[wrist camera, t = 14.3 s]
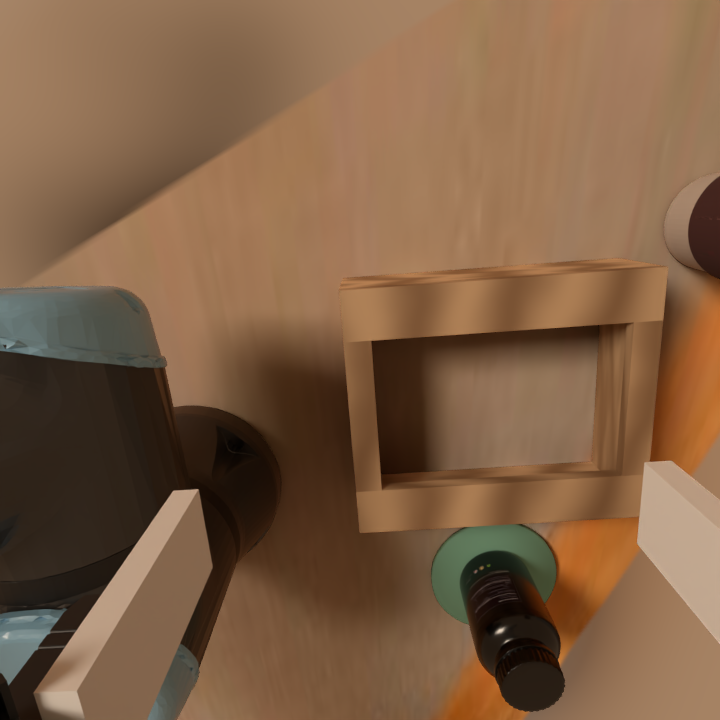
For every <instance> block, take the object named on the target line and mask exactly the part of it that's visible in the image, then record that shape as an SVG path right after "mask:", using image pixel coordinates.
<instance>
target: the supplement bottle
mask: <svg viewBox="0 0 720 720" xmlns="http://www.w3.org/2000/svg"><path fill="white" fill-rule="evenodd" d="M459 583H460V591H461V595H462V599H463V603H464V607H465V611H466V615H467V618H468V622H469V626H470V630H471V634H472V637H473V641H474V645H475V649H476V652H477V655H478V658H479V661H480V663H481V664H482V666H483V667H484V668H485V670H486V671H487V672H488V673H489V674H491V675H492V676H493V677H495V679H496V681H497V683H498V685H499V688H500V691H501V694H502V696H503V698H504V699H505V701H506V702H508V703H509V705H510V706H513V707H514V708H516V709H518V710H523V711H525V712H526V711H530V712H533V711H539V710H544V709H545V708H549V707H550V706H551V705H553V704H555V702H556V701H558V700H559V698H560V697H561V696H562V693H563V692H564V687H565V685H564V683H565V679H564V677H563V673H562V671H561V668H560V666H559V662H558V658H559V654H560V648H561V643H560V637H559V634H558V631H557V629H556V627H555V625H554V622H553V620H552V618H551V616H550V614H549V612H548V610H547V608H546V606H545V604H544V601H543V599H542V597H541V595H540V593H539V591H538V589H537V587H536V585H535V583H534V580H533V578H532V576H531V574H530V572H529V570H528V568H527V567H526V565H525V564H524V563H523V562H522V561H521V560H520V559H519V558H518V557H516V556H515V555H513V554H511V553H508V552H504V551H488V552H484V553H481V554H479V555H477V556H475V557H474V558H472V559H471V560H470V561H469V562H468V563H467V564H466V565H465V567H464V568H463V570H462V573H461V576H460V582H459Z"/></svg>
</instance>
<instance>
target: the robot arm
mask: <svg viewBox="0 0 720 720" xmlns="http://www.w3.org/2000/svg"><path fill="white" fill-rule="evenodd" d="M166 366H167V361H166V359H165V357H163V356H161V352H160V349H159V346H158V343H157V339H156V336H155V332H154V329H153V325H152V322H151V318H150V314H149V312H148V309H147V307H146V306H145V304H144V303H143V302H142V300H141V299H140V298H139V297H137V296H136V295H135V294H133V293H132V292H130V291H128V290H125V289H122V288H118V287H111V286H51V287H18V288H0V720H177V719H178V717H179V715H180V713H181V711H182V708H183V706H184V704H185V702H186V700H187V698H188V696H189V694H190V692H191V690H192V689H193V688H194V686H195V684H196V682H197V679H198V677H199V676H198V675H199V673H200V672H199V667H200V664H201V662H202V659H203V656H204V653H205V650H206V648H207V645H208V642H209V639H210V636H211V634H212V631H213V628H214V625H215V622H216V620H217V617H218V614H219V611H220V608H221V606H222V603H223V600H224V597H225V594H226V592H227V589H228V586H229V583H230V580H231V578H232V575H233V571H234V569H235V566H236V564H237V563H238V562H239V561H240V560H241V558H242V557H243V556H244V555H245V554H246V553H248V552H249V551H250V550H251V549H253V548H254V547H255V546H256V545H257V544H258V543H259V542H260V541H261V539H262V538H263V537H264V536H265V534H266V533H267V531H268V529H269V528H270V526H271V524H272V522H273V519H274V516H275V513H276V510H277V507H278V503H279V499H280V494H281V477H280V471H279V467H278V464H277V461H276V459H275V456H274V454H273V452H272V451H271V449H270V447H269V446H268V444H267V443H266V442H265V440H264V439H263V438H262V437H261V436H260V435H259V434H258V433H257V432H256V431H255V430H254V429H253V428H252V427H251V426H249V425H248V424H247V423H245V422H244V421H242V420H241V419H239V418H237V417H235V416H233V415H231V414H229V413H227V412H224V411H221V410H218V409H214V408H210V407H204V406H179V407H174V408H173V403H172V398H171V394H170V389H169V384H168V379H167V375H166V370H165V367H166ZM637 544H638V545H639V547H640V548H641V549H642V550H643V551H644V553H645V554H646V555H647V556H648V558H649V559H650V560H651V561H652V562H653V564H654V565H655V566H656V567H657V568H658V570H659V571H660V572H661V573H662V575H663V576H664V577H665V578H666V579H667V581H668V582H669V583H670V584H671V585H672V587H673V588H674V589H675V590H676V592H677V593H678V594H679V595H680V596H681V598H682V599H683V600H684V601H685V603H686V604H687V605H688V606H689V607H690V608H691V610H692V611H693V612H694V614H696V616H697V617H698V618H699V620H700V621H701V622H702V623H703V624H704V626H705V627H706V628H707V629H708V631H709V632H710V633H711V634H712V635H713V637H714V638H715V639H716V640H717V642H718V643H719V644H720V500H719V499H718V498H717V497H716V496H714V495H713V494H712V493H711V492H709V491H708V490H707V489H706V488H704V487H703V486H702V485H700V484H699V483H698V482H697V481H696V480H694V479H693V478H692V477H691V476H690V475H688V474H687V473H686V472H685V471H683V470H682V469H681V468H680V467H678V466H677V465H676V464H675V463H674V462H672V461H657V462H645V463H644V473H643V484H642V495H641V506H640V517H639V528H638V538H637Z"/></svg>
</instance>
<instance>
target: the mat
mask: <svg viewBox="0 0 720 720" xmlns="http://www.w3.org/2000/svg"><path fill="white" fill-rule="evenodd" d="M488 551H504V552H508V553H511V554H513V555H515V556H516V557H518V558H519V559H520V560H521V561H522V562H523V563H524V564H525V565H526V567H527V568H528V570H529V572H530V574H531V576H532V578H533V580H534V583H535V585H536V587H537V589H538V591H539V593H540V595H541V597H542V599H543V601H544V604H545V602H546V601H547V600H548V598H549V596H550V595H551V593H552V591H553V588H554V585H555V582H556V564H555V560H554V557H553V554H552V552H551V551H550V549H549V547H548V545H547V544H546V542H545V541H544V540H543V539H542V538H541V537H540V536H539V535H538V534H537V533H536V532H534V531H533V530H532V529H530V528H528V527H526V526H524V525H521V524H509V525H492V526H475V527H464V528H462V529H460V530H459V531H457V532H455V533H454V534H453V535H452V536H450V537H449V538H448V539H447V540H446V541H445V542H444V543H443V544H442V546H441V547H440V548H439V550H438V552H437V554H436V555H435V558H434V561H433V564H432V569H431V580H432V587H433V591H434V594H435V596H436V599H437V601H438V602H439V604H440V605H441V606H442V608H443V609H444V610H445V611H446V612H447V613H448V614H450V615H451V616H452V617H454V618H455V619H457V620H459V621H461V622H463V623H466V624H469V622H468V618H467V615H466V611H465V607H464V603H463V599H462V595H461V591H460V583H459V582H460V576H461V573H462V570H463V568H464V567H465V565H466V564H467V563H468V562H469V561H470V560H471V559H472V558H474V557H475V556H477V555H479V554H481V553H484V552H488Z"/></svg>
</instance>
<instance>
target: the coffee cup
mask: <svg viewBox="0 0 720 720" xmlns="http://www.w3.org/2000/svg"><path fill="white" fill-rule="evenodd" d="M664 237H665V242H666V245H667V247H668V249H669V251H670V253H671V254H672V255H673V256H674V257H675V258H676V259H677V260H678V261H679V262H681V263H682V264H684V265H686V266H688V267H691V268H694V269H698V270H702V271H705V272H707V273H709V274H710V275H712V276H714V277H716V278H719V279H720V172H718V173H714V174H709V175H706V176H703V177H701V178H699V179H697V180H695V181H693V182H692V183H690V184H689V185H687V186H686V187H685V188H684V189H683V190H682V191H680V192H679V193H678V195H677V196H676V197H675V199H674V200H673V201H672V203H671V205H670V207H669V209H668V211H667V214H666V217H665V222H664Z"/></svg>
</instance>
